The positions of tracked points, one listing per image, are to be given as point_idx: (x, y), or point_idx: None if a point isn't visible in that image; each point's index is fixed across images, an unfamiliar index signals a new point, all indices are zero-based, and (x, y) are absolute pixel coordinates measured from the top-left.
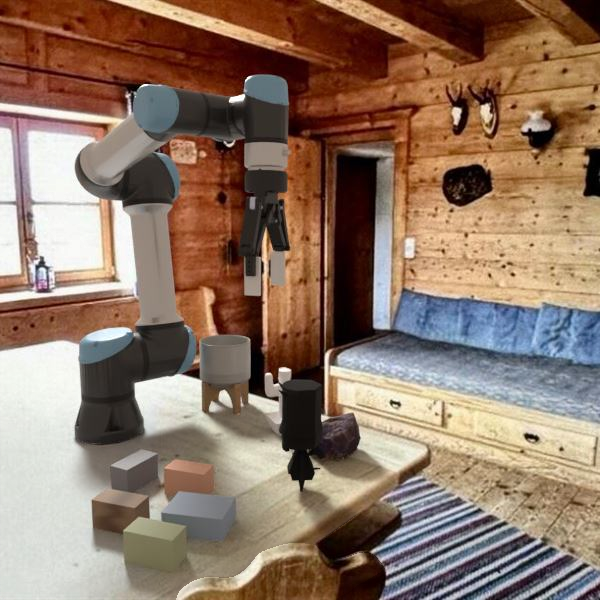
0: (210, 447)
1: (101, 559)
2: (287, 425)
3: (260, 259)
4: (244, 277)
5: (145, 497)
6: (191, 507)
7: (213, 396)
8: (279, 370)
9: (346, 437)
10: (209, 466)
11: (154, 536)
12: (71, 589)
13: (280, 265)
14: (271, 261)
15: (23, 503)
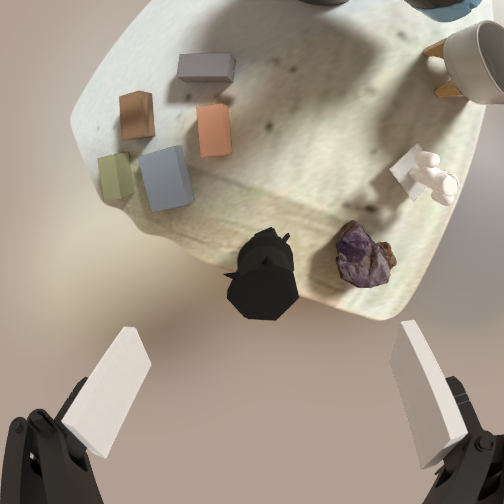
0: (331, 95)
1: (107, 139)
2: (241, 259)
3: (105, 450)
4: (97, 366)
5: (139, 135)
6: (155, 176)
7: (442, 58)
8: (446, 177)
9: (342, 278)
10: (221, 151)
11: (101, 185)
12: (82, 148)
13: (415, 412)
14: (433, 400)
15: (144, 22)
